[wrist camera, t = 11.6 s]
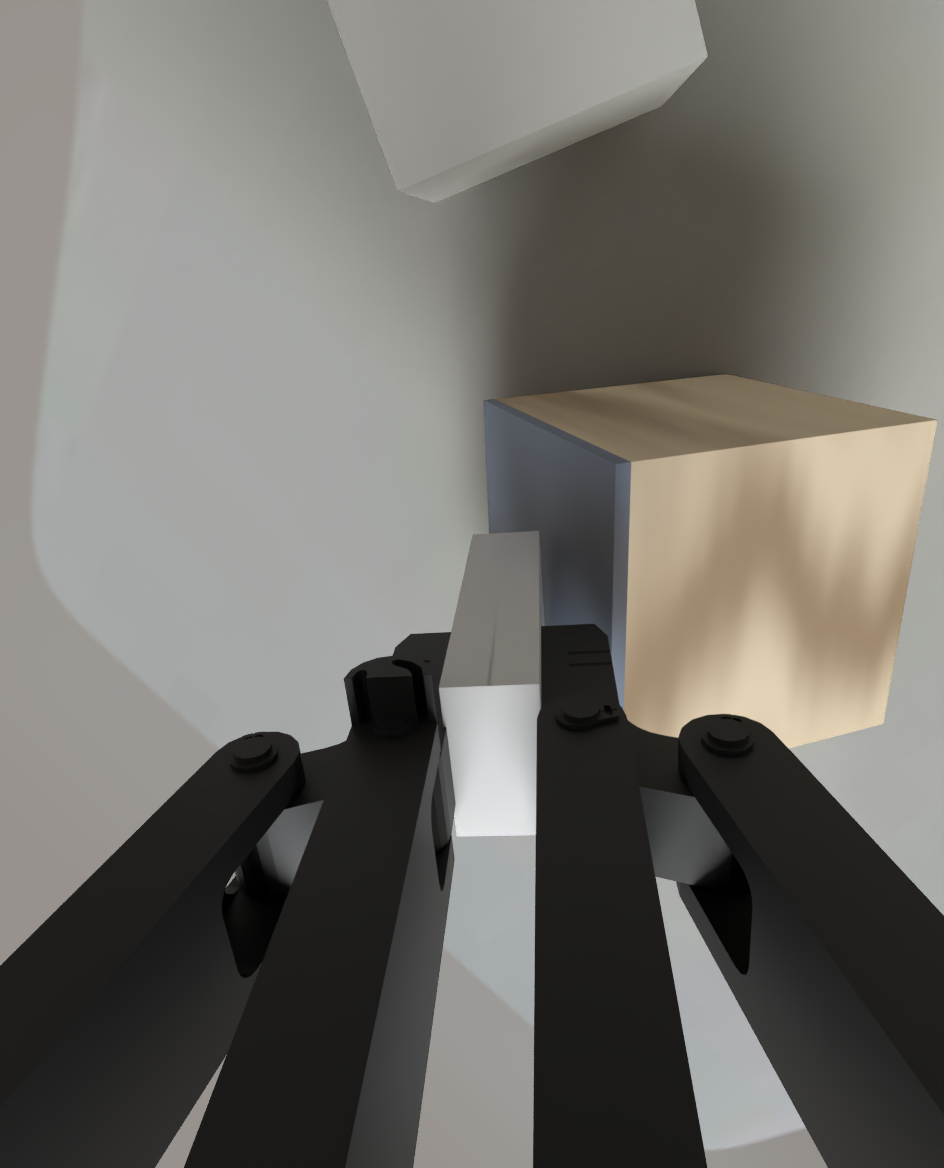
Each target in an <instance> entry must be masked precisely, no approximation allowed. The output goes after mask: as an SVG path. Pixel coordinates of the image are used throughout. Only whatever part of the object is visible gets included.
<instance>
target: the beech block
mask: <svg viewBox="0 0 944 1168" xmlns="http://www.w3.org/2000/svg"><path fill="white" fill-rule="evenodd" d="M484 419H485V443H486V467H487V491H488V515H489V534H492V533H509V532H526V531H539V538H540V554H541V571H542V587H543V604H544V621H545V626H555V625H577V624H595V625H596V626H598V627H599V628H600V629H601V630H602V631H603V632H604V633H605V634H606V635H607V636H608V640H609V646H610V653H611V657H612V665H613V669H614V675H615V681H616V686H617V692H618V698H619V704H620V706H621V707H622V708H623V710H624V712H625V714H626V716H627V720H628V721H629V722H631V723H632V724H634V725H636V726H637V727H639V728H641V729H644V730H646V731H649V732H652V733H656V734H660V735H665V736H671V737H677V738H678V737H679V734H680V731H681V729H682V727H683V726H684V725H686V724H687V723H688V722H690V721H691V720H692V719H696V718H699V717H702V716H705V715H714V714H731V715H738V716H743V717H746V718H749V719H752V720H754V721H757V722H760V723H762V724H763V725H764V726H766V727H767V728H768V729H770V730H771V731H772V732H774V734H775V735H776V736H777V737H778V738H779V739H780V740H781V741H782V742H783V743H784V744H785V745H786V746H787V748H788V749H789V748H793V747H796V746H800V745H804V744H808V743H812V742H816V741H819V740H823V739H827V738H831V737H835V736H839V735H842V734H846V733H850V732H854V731H858V730H862V729H865V728H869V727H873V726H877V725H881V724H883V722H884V716H885V710H886V705H887V699H888V694H889V688H890V682H891V677H892V671H893V666H894V660H895V654H896V649H897V643H898V638H899V632H900V626H901V621H902V615H903V610H904V604H905V598H906V593H907V587H908V582H909V576H910V570H911V565H912V559H913V554H914V548H915V542H916V537H917V531H918V526H919V520H920V514H921V509H922V503H923V498H924V492H925V486H926V481H927V475H928V470H929V464H930V458H931V453H932V447H933V442H934V436H935V430H936V425H937V420H935V419H931V418H926V417H922V416H917V415H912V414H908V413H903V412H899V411H894V410H890V409H885V408H880V407H876V406H871V405H867V404H862V403H857V402H853V401H848V400H844V399H839V398H834V397H830V396H825V395H821V394H816V393H811V392H807V391H802V390H798V389H793V388H788V387H784V386H779V385H775V384H770V383H765V382H761V381H756V380H752V379H747V378H743V377H738V376H733V375H729V374H722V375H713V376H703V377H694V378H685V379H676V380H667V381H657V382H648V383H639V384H630V385H620V386H611V387H602V388H593V389H584V390H574V391H565V392H556V393H547V394H538V395H528V396H519V397H510V398H501V399H492V400H484Z"/></svg>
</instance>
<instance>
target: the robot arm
mask: <svg viewBox="0 0 944 1168" xmlns="http://www.w3.org/2000/svg"><path fill="white" fill-rule="evenodd" d="M344 682H345V688H346V694H347V700H348V705H349V711H350V717H351V723H352V727H351V730H350V732H349V735H348V738H347V740H346V741H344V742H342V743H340V744H338V745H334V746H331V747H328V748H324V749H320V750H315V751H311V752H306V753H302V754H301V753H300V748H299V744H298V742H297V741H296V740H295V739H294V738H293V737H292V736H291V735H288V734H284V733H280V732H257V733H255V734H253V733H252V734H248V735H245V736H243V737H241V738H238V739H236V740H234V741H232V742H229V743H228V744H226V745H225V746H224V747H222V748H221V749H220V750H218V751H217V752H216V753H215V754H214V755H213V756H212V757H211V758H210V759H209V760H208V761H207V762H206V763H205V764H204V765H203V766H202V767H201V768H200V769H199V770H198V771H197V772H196V773H195V774H194V775H193V776H192V777H191V778H190V779H188V781H186V782H185V783H184V784H183V786H181V787H180V789H178V790H177V791H176V792H175V794H173V795H172V796H171V797H170V798H169V799H168V800H167V802H165V803H164V804H163V805H162V806H161V807H160V808H159V809H158V810H157V811H156V812H155V813H154V814H153V815H152V816H151V817H150V818H149V819H148V820H147V821H146V822H145V823H144V824H143V825H142V826H141V827H140V828H139V829H138V830H137V831H136V832H135V833H134V834H133V835H132V836H131V837H130V838H129V839H128V840H127V841H126V842H125V843H124V844H123V845H122V846H121V847H120V848H119V849H118V850H117V851H116V852H115V853H114V854H113V855H112V856H111V857H110V858H109V859H108V860H107V861H106V862H105V863H104V864H103V865H102V866H101V867H100V868H99V869H98V870H97V871H96V872H95V873H93V874H92V876H90V878H88V879H87V880H86V881H85V882H84V883H83V884H82V885H81V886H80V887H79V888H78V889H77V890H76V891H75V892H74V893H73V894H72V895H71V896H70V897H69V898H68V899H67V900H66V901H65V902H64V903H63V904H62V905H61V906H60V907H59V908H58V909H57V910H56V911H55V912H54V913H53V914H52V915H51V916H50V917H49V918H48V919H47V920H46V921H45V922H44V923H43V924H42V925H41V926H40V927H39V928H38V929H37V930H36V931H35V932H34V933H33V934H32V935H31V936H30V937H29V938H28V939H27V940H26V941H25V942H24V943H23V944H22V945H21V946H20V947H19V948H18V949H17V950H16V951H15V952H14V953H13V954H12V955H11V956H10V957H9V958H8V959H7V960H6V961H5V962H4V963H3V964H2V965H1V966H0V1168H155V1167H156V1165H157V1163H158V1162H159V1160H160V1159H161V1157H162V1156H163V1154H164V1152H165V1151H166V1149H167V1148H168V1146H169V1144H170V1143H171V1141H172V1140H173V1138H174V1136H175V1135H176V1133H177V1132H178V1130H179V1129H180V1127H181V1126H182V1124H183V1122H184V1121H185V1119H186V1118H187V1116H188V1115H189V1113H190V1111H191V1110H192V1108H193V1107H194V1105H195V1104H196V1102H197V1100H198V1099H199V1097H200V1095H201V1094H202V1093H203V1091H204V1089H205V1088H206V1086H207V1085H208V1083H209V1081H210V1080H211V1078H212V1077H213V1075H214V1073H215V1072H216V1070H217V1069H218V1067H219V1066H220V1064H221V1063H222V1061H223V1059H224V1058H225V1056H226V1055H227V1056H226V1058H225V1061H224V1064H223V1066H222V1069H221V1071H220V1074H219V1077H218V1079H217V1082H216V1085H215V1088H214V1090H213V1093H212V1095H211V1098H210V1100H209V1103H208V1106H207V1108H206V1111H205V1114H204V1116H203V1119H202V1121H201V1124H200V1127H199V1130H198V1132H197V1135H196V1138H195V1140H194V1142H193V1146H192V1148H191V1150H190V1153H189V1156H188V1158H187V1161H186V1164H185V1166H184V1168H413V1164H414V1156H415V1148H416V1142H417V1134H418V1127H419V1119H420V1111H421V1104H422V1097H423V1089H424V1082H425V1074H426V1067H427V1060H428V1053H429V1045H430V1038H431V1030H432V1023H433V1015H434V1008H435V1000H436V992H437V986H438V978H439V971H440V963H441V956H442V949H443V941H444V934H445V926H446V919H447V912H448V904H449V897H450V889H451V882H452V874H453V867H454V852H453V844H452V836H451V832H452V825H453V819H454V817H455V825H456V834H457V836H512V835H536V885H535V1008H534V1133H533V1134H534V1135H533V1137H534V1138H533V1141H534V1142H533V1168H707V1164H706V1158H705V1152H704V1147H703V1141H702V1136H701V1130H700V1124H699V1119H698V1113H697V1108H696V1102H695V1096H694V1091H693V1085H692V1080H691V1074H690V1068H689V1063H688V1057H687V1052H686V1046H685V1040H684V1035H683V1029H682V1024H681V1018H680V1012H679V1007H678V1001H677V995H676V990H675V984H674V979H673V973H672V967H671V962H670V956H669V951H668V945H667V939H666V934H665V928H664V923H663V917H662V911H661V906H660V900H659V895H658V889H657V883H656V878H655V876H656V877H660V878H665V879H669V880H673V881H677V882H676V883H677V887H678V891H679V894H680V897H681V899H682V901H683V903H684V904H685V906H686V908H687V910H688V912H689V914H690V915H691V917H692V919H693V921H694V923H695V925H696V926H697V928H698V930H699V932H700V934H701V936H702V937H703V939H704V941H705V943H706V945H707V947H708V948H709V950H710V952H711V954H712V956H713V958H714V959H715V961H716V963H717V965H718V967H719V969H720V970H721V972H722V974H723V976H724V978H725V980H726V981H727V983H728V985H729V987H730V989H731V991H732V992H733V994H734V996H735V998H736V1000H737V1002H738V1003H739V1005H740V1007H741V1009H742V1011H743V1013H744V1014H745V1016H746V1018H747V1020H748V1022H749V1024H750V1025H751V1027H752V1029H753V1031H754V1033H755V1035H756V1036H757V1038H758V1040H759V1042H760V1044H761V1046H762V1047H763V1049H764V1051H765V1053H766V1055H767V1057H768V1058H769V1060H770V1062H771V1064H772V1066H773V1068H774V1069H775V1071H776V1073H777V1075H778V1077H779V1079H780V1080H781V1082H782V1084H783V1086H784V1088H785V1090H786V1091H787V1093H788V1095H789V1097H790V1099H791V1101H792V1103H793V1104H794V1106H795V1108H796V1110H797V1112H798V1114H799V1115H800V1117H801V1119H802V1121H803V1123H804V1125H805V1126H806V1128H807V1130H808V1132H809V1134H810V1135H811V1137H812V1139H813V1141H814V1143H815V1144H816V1146H817V1148H818V1150H819V1152H820V1154H821V1156H822V1157H823V1159H824V1161H825V1163H826V1165H827V1167H828V1168H944V916H943V914H942V913H941V912H940V911H939V910H938V909H937V908H936V907H935V906H934V905H933V904H932V903H931V902H930V900H929V899H928V898H927V897H926V896H925V895H924V894H923V893H922V892H921V891H920V890H919V889H918V888H917V886H916V885H915V884H914V883H913V882H912V881H911V880H910V879H909V878H908V877H907V876H906V875H905V874H904V872H903V871H902V870H901V869H900V868H899V867H898V866H897V865H896V864H895V863H894V862H893V861H892V860H891V858H890V857H889V856H888V855H887V854H886V853H885V852H884V851H883V850H882V849H881V848H880V847H879V846H878V844H877V843H876V842H875V841H874V840H873V839H872V838H871V837H870V836H869V835H868V834H867V833H866V832H865V830H864V829H863V828H862V827H861V826H860V825H859V824H858V823H857V822H856V821H855V820H854V819H853V818H852V816H851V815H850V814H849V813H848V812H847V811H846V810H845V809H844V808H843V807H842V806H841V805H840V804H839V802H838V801H837V800H836V799H835V798H834V797H833V796H832V795H831V794H830V793H829V792H828V791H827V790H826V788H825V787H824V786H823V785H822V784H821V783H820V782H819V781H818V780H817V779H816V778H815V777H814V776H813V774H812V773H811V772H810V771H809V770H808V769H807V768H806V767H805V766H804V765H803V764H802V763H801V762H800V760H799V759H798V758H797V757H796V756H795V755H794V754H793V753H792V752H791V751H790V750H789V749H788V748H787V746H786V745H785V744H784V743H783V742H782V741H781V740H780V739H779V738H778V737H777V736H776V735H775V734H774V732H772V731H771V730H770V729H768V728H767V727H766V726H764V725H763V724H762V723H760V722H757V721H754V720H752V719H749V718H746V717H743V716H738V715H731V714H714V715H705V716H702V717H699V718H696V719H692V720H691V721H690V722H688V723H687V724H686V725H684V726H683V727H682V729H681V731H680V734H679V737H678V738H677V737H671V736H665V735H660V734H656V733H652V732H649V731H646V730H644V729H641V728H639V727H637V726H636V725H634V724H632V723H631V722H629V721H628V720H627V716H626V714H625V712H624V710H623V708H622V707H621V706H620V704H619V698H618V692H617V686H616V681H615V675H614V669H613V665H612V657H611V653H610V646H609V640H608V636H607V635H606V634H605V633H604V632H603V631H602V630H601V629H600V628H599V627H598V626H596V625H595V624H577V625H555V626H545V621H544V604H543V587H542V571H541V554H540V538H539V531H526V532H509V533H492V534H474V535H473V536H472V541H471V545H470V550H469V554H468V559H467V563H466V568H465V572H464V577H463V581H462V586H461V590H460V595H459V599H458V604H457V608H456V613H455V617H454V622H453V626H452V631H451V632H445V633H423V634H410V635H409V636H408V637H407V638H406V639H405V640H403V641H402V642H401V643H400V644H399V645H398V646H396V648H395V650H394V653H393V656H388V657H381V658H376V659H373V660H370V661H367V662H364V663H362V664H360V665H359V666H357V667H355V668H354V669H352V670H351V671H350V672H349V673H348V674H347V675H346V677H345V678H344ZM234 872H235V874H236V876H235V878H234V879H233V880H232V881H231V883H230V884H229V885H228V886H227V887H226V885H227V883H228V882H229V880H230V878H231V876H232V874H233V873H234ZM225 887H226V888H225Z"/></svg>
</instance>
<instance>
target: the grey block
mask: <svg viewBox="0 0 944 1168" xmlns="http://www.w3.org/2000/svg"><path fill="white" fill-rule="evenodd" d="M327 2H328V5H329V8H330V10H331V13H332V16H333V18H334V21H335V24H336V26H337V29H338V32H339V35H340V37H341V40H342V43H343V45H344V48H345V51H346V53H347V56H348V59H349V62H350V64H351V67H352V70H353V72H354V75H355V78H356V81H357V83H358V86H359V89H360V91H361V94H362V97H363V99H364V102H365V105H366V108H367V110H368V113H369V116H370V118H371V121H372V124H373V126H374V129H375V132H376V135H377V137H378V140H379V143H380V145H381V148H382V151H383V153H384V156H385V159H386V162H387V164H388V167H389V170H390V172H391V175H392V178H393V181H394V183H395V186H396V189H397V191H398V192H401V193H405V194H408V195H411V196H414V197H417V198H420V199H424V200H427V201H430V202H433V203H436V202H438V201H441V200H443V199H445V198H448V197H450V196H452V195H455V194H457V193H459V192H462V191H464V190H466V189H469V188H471V187H474V186H476V185H478V184H481V183H483V182H485V181H488V180H490V179H492V178H495V177H497V176H499V175H502V174H504V173H506V172H509V171H511V170H513V169H516V168H518V167H520V166H523V165H525V164H527V163H530V162H532V161H534V160H537V159H539V158H542V157H544V156H546V155H549V154H551V153H553V152H556V151H558V150H560V149H563V148H565V147H567V146H570V145H572V144H574V143H577V142H579V141H581V140H584V139H586V138H588V137H591V136H593V135H595V134H598V133H600V132H603V131H605V130H607V129H610V128H612V127H614V126H617V125H619V124H621V123H624V122H626V121H628V120H631V119H633V118H635V117H638V116H640V115H642V114H645V113H647V112H649V111H652V110H654V109H656V108H659V107H661V106H663V104H664V103H665V102H666V101H667V100H668V99H669V98H670V97H671V96H672V95H673V94H674V93H675V91H676V90H677V89H678V88H679V87H680V86H681V85H682V84H683V83H684V82H685V81H686V80H687V78H688V77H689V76H690V75H691V74H692V73H693V72H694V71H695V70H696V69H697V68H698V67H699V65H700V64H701V63H702V62H703V61H704V60H705V59H706V58H707V57H708V55H707V51H706V46H705V42H704V38H703V33H702V29H701V24H700V20H699V16H698V11H697V7H696V3H695V0H327Z"/></svg>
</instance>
